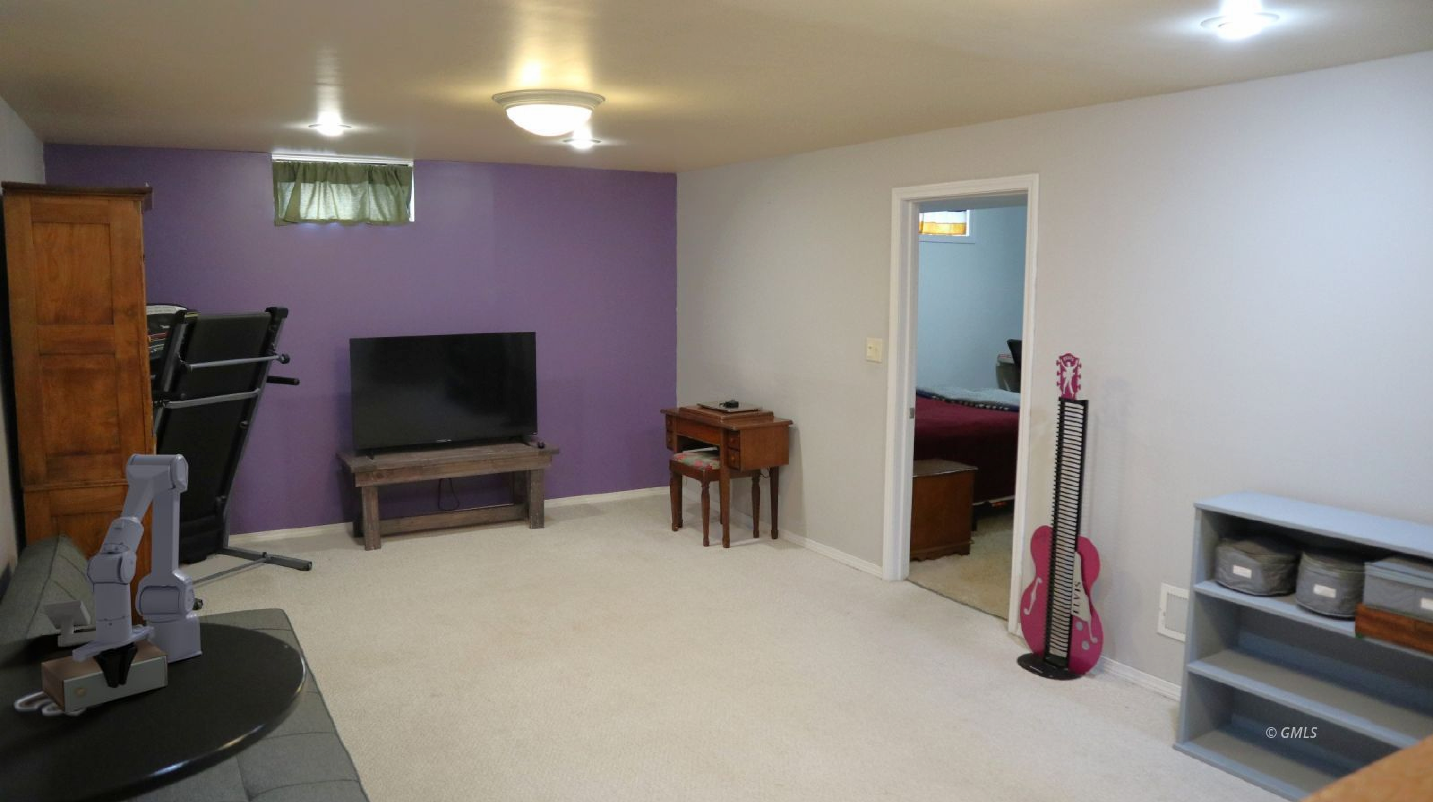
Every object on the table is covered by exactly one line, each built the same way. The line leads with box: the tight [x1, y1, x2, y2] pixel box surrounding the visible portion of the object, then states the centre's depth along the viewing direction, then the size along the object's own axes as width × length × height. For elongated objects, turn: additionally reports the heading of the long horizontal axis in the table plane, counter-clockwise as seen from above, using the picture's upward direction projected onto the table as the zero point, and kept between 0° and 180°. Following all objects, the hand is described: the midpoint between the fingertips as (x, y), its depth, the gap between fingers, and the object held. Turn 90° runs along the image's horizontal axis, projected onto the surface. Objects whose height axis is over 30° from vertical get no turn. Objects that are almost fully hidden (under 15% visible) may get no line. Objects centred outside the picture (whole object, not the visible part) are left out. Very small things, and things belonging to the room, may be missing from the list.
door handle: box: [42, 599, 144, 648], centre depth 213 cm, size 18×8×20 cm
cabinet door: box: [64, 656, 168, 713], centre depth 183 cm, size 17×2×6 cm, turn 139°
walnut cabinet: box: [41, 638, 169, 713], centre depth 188 cm, size 18×12×6 cm, turn 140°
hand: (116, 685), depth 182 cm, fingers closed
